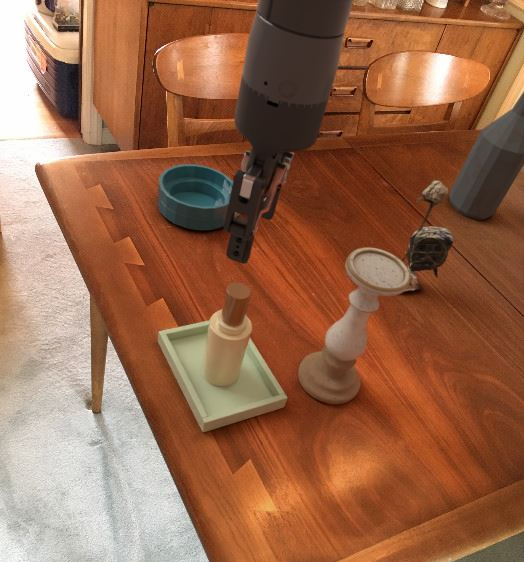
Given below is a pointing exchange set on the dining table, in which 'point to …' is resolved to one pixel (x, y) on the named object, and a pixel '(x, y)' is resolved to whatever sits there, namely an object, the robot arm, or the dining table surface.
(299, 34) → the robot arm
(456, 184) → the bottle
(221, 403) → the tray
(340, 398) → the candle holder
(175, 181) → the bowl
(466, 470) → the dining table surface
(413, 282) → the stone bird figurine
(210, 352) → the stoneware bottle
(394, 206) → the dining table surface
